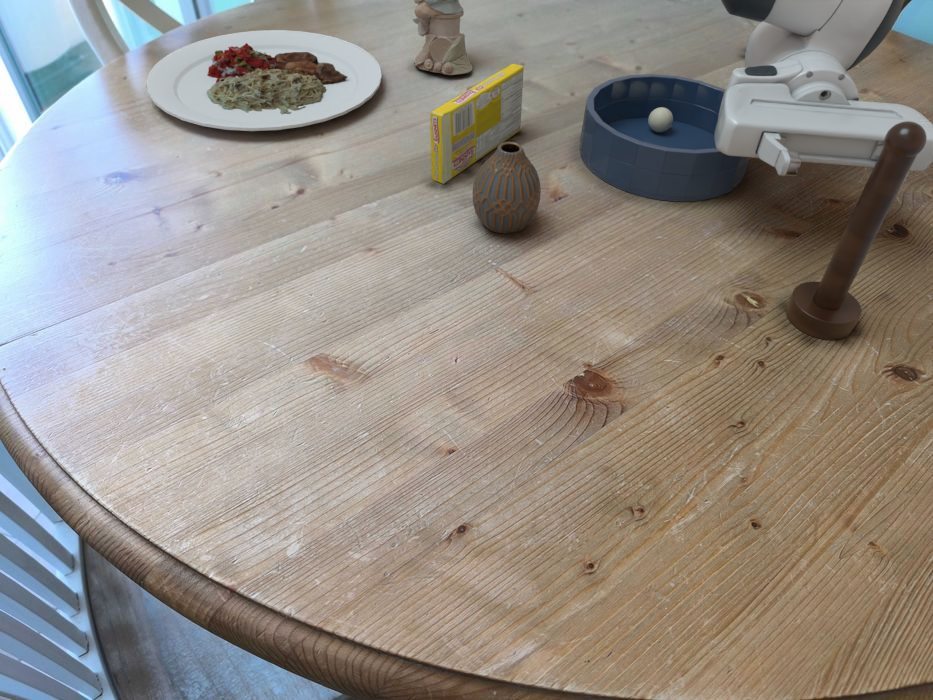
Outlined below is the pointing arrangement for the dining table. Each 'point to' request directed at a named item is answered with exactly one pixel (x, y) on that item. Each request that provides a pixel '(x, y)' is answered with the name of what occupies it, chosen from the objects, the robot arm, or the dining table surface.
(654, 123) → the dough ball
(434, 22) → the figurine
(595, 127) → the bowl
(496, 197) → the vase
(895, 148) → the wooden joystick
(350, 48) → the plated food
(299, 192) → the dining table surface
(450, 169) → the candy box
